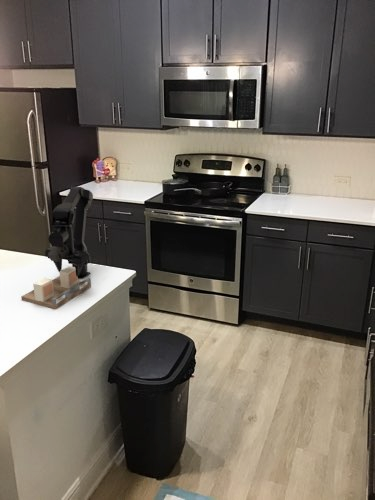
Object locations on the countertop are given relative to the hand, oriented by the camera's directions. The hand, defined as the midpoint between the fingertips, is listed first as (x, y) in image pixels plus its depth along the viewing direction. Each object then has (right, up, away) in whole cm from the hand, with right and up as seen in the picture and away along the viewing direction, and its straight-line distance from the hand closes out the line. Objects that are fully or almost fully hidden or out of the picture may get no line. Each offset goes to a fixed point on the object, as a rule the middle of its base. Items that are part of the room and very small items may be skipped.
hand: (68, 273), depth 179 cm
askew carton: (0, -5, +2) cm, 5 cm away
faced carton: (-7, -9, -9) cm, 15 cm away
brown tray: (-4, -8, -2) cm, 9 cm away
